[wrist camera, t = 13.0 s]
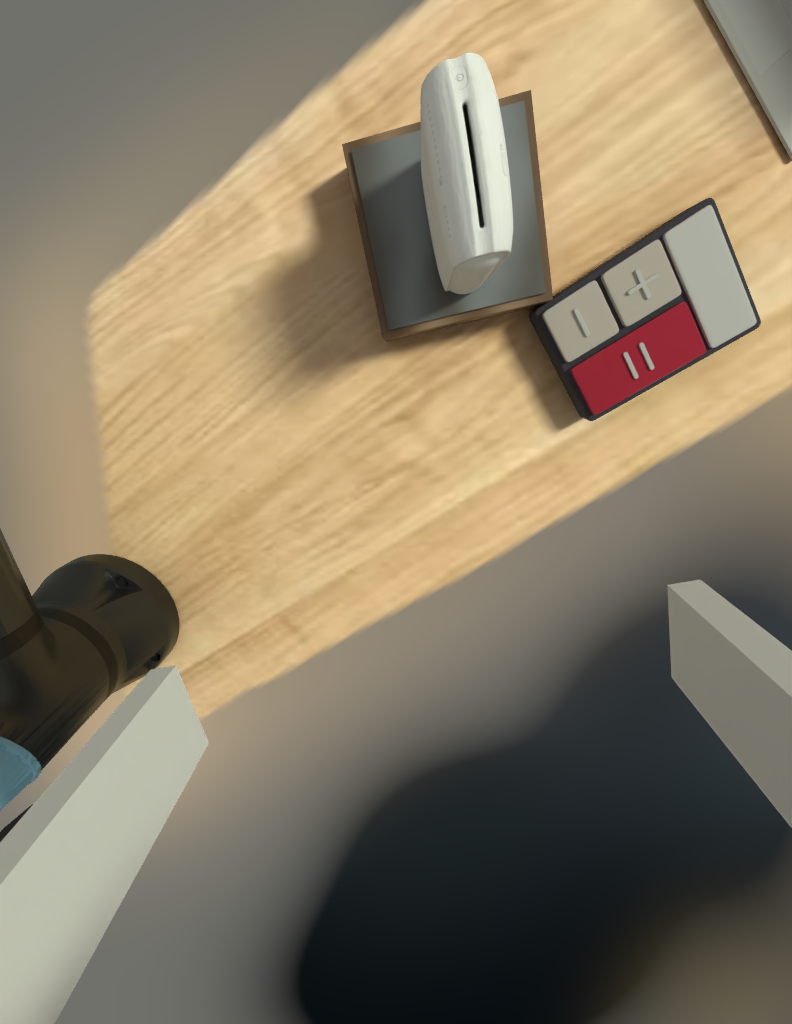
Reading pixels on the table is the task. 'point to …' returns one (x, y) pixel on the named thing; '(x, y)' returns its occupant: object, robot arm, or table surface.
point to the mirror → (407, 239)
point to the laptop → (762, 53)
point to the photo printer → (465, 173)
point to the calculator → (647, 312)
